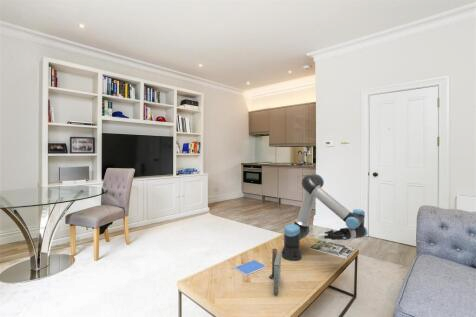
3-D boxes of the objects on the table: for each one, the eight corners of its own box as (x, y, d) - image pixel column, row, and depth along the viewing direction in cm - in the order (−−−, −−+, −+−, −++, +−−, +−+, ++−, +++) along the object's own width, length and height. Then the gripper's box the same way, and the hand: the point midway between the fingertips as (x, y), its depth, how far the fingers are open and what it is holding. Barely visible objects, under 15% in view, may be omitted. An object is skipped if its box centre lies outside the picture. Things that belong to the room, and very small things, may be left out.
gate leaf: (276, 275, 152) (277, 251, 151) (280, 276, 151) (281, 251, 151) (273, 292, 133) (273, 265, 132) (277, 293, 132) (278, 265, 132)
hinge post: (269, 277, 151) (269, 249, 151) (272, 274, 156) (273, 247, 155) (276, 280, 149) (276, 251, 148) (279, 276, 153) (280, 249, 152)
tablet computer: (254, 261, 176) (254, 259, 176) (266, 267, 166) (266, 265, 166) (234, 269, 163) (234, 267, 163) (246, 276, 154) (246, 274, 154)
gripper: (354, 242, 157) (326, 246, 148) (339, 235, 169) (312, 239, 160) (355, 231, 156) (326, 234, 148) (339, 225, 168) (312, 228, 160)
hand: (319, 237), depth 154 cm, fingers closed
